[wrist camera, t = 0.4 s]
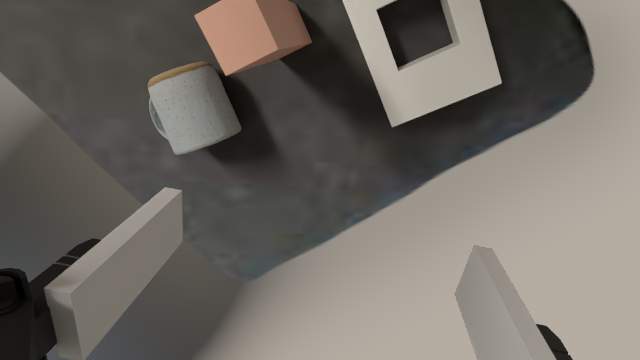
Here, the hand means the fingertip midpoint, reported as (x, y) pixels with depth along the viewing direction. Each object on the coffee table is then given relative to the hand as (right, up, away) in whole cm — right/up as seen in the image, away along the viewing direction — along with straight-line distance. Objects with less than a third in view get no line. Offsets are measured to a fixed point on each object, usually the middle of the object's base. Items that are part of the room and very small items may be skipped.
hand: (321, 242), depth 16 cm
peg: (-3, +18, +21) cm, 28 cm away
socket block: (+9, +18, +20) cm, 28 cm away
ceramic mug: (-14, +11, +26) cm, 31 cm away
